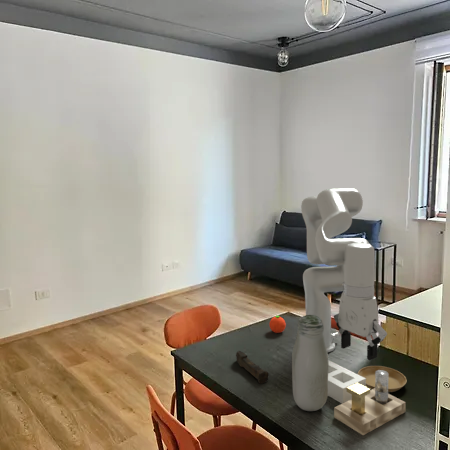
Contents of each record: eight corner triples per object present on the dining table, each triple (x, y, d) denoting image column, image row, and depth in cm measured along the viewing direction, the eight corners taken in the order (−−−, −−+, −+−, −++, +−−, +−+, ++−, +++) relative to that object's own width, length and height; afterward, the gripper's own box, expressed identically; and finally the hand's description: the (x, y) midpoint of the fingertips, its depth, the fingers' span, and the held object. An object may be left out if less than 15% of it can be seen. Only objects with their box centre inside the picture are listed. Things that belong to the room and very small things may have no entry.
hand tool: (269, 382, 141) (269, 369, 140) (258, 385, 139) (258, 371, 139) (243, 359, 158) (243, 347, 158) (234, 361, 157) (233, 349, 156)
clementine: (269, 328, 186) (269, 312, 185) (285, 328, 186) (285, 312, 185) (269, 335, 178) (269, 319, 177) (286, 335, 178) (286, 319, 177)
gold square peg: (357, 413, 121) (357, 382, 120) (369, 420, 117) (370, 389, 116) (346, 418, 119) (346, 387, 117) (359, 426, 115) (359, 394, 114)
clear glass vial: (380, 404, 126) (380, 368, 124) (390, 409, 123) (391, 373, 121) (372, 408, 124) (372, 372, 122) (382, 413, 121) (383, 377, 119)
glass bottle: (306, 421, 119) (305, 325, 115) (286, 403, 128) (285, 313, 124) (335, 412, 123) (335, 318, 119) (314, 395, 132) (313, 308, 128)
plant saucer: (409, 379, 140) (409, 371, 139) (402, 401, 127) (402, 393, 127) (363, 369, 147) (363, 362, 147) (352, 389, 135) (352, 381, 134)
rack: (327, 373, 145) (327, 359, 144) (365, 393, 132) (365, 378, 131) (305, 382, 140) (305, 367, 139) (343, 404, 126) (343, 388, 126)
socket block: (375, 396, 130) (375, 387, 129) (405, 412, 121) (405, 402, 121) (334, 417, 120) (334, 407, 120) (363, 435, 112) (363, 424, 111)
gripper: (324, 285, 118) (324, 345, 120) (377, 301, 103) (376, 368, 106) (343, 280, 122) (343, 338, 124) (396, 295, 107) (395, 360, 110)
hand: (358, 352), depth 115 cm, fingers open, 8 cm apart
